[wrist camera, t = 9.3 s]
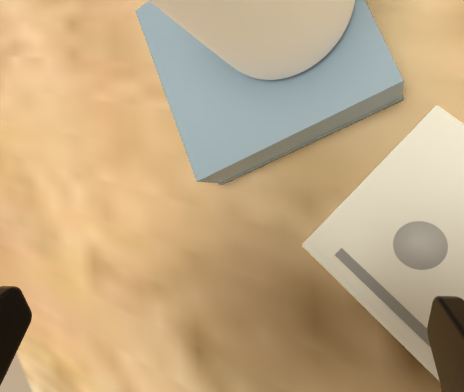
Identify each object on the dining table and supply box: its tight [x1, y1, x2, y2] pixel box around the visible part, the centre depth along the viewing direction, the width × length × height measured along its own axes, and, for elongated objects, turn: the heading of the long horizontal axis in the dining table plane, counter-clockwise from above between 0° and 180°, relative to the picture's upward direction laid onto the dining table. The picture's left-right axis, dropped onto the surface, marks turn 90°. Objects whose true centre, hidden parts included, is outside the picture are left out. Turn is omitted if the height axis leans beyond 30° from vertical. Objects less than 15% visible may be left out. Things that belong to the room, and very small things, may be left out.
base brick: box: [136, 0, 404, 185], centre depth 18 cm, size 10×10×3 cm
